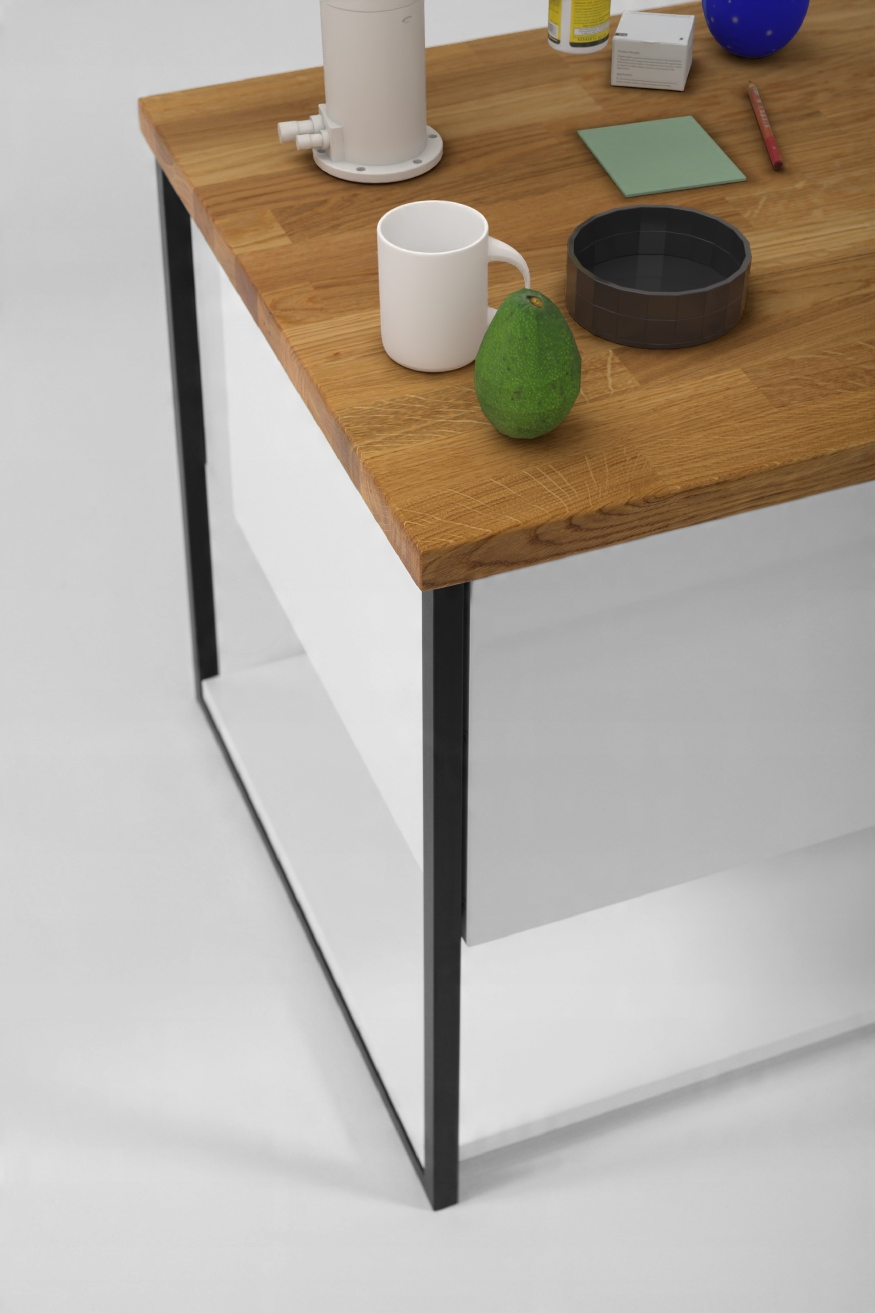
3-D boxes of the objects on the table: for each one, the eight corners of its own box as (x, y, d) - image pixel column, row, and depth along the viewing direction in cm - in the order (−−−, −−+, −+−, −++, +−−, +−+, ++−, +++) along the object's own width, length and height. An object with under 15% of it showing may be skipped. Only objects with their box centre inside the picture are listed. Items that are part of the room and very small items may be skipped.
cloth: (625, 197, 151) (626, 194, 151) (577, 133, 161) (577, 130, 161) (746, 180, 153) (746, 177, 153) (690, 118, 163) (691, 115, 163)
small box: (692, 62, 173) (697, 13, 169) (684, 93, 167) (688, 43, 164) (619, 56, 174) (623, 8, 171) (608, 86, 169) (611, 37, 165)
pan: (599, 361, 131) (603, 306, 127) (542, 270, 141) (544, 217, 138) (772, 333, 133) (780, 279, 130) (703, 246, 144) (709, 194, 141)
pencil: (783, 170, 154) (784, 160, 154) (772, 170, 154) (773, 160, 154) (754, 85, 168) (755, 76, 167) (743, 85, 168) (744, 76, 167)
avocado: (483, 466, 121) (485, 324, 112) (465, 406, 126) (465, 268, 118) (589, 455, 121) (598, 314, 113) (566, 396, 127) (573, 258, 119)
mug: (533, 371, 130) (538, 250, 122) (383, 377, 129) (378, 256, 122) (523, 314, 136) (526, 196, 129) (379, 320, 136) (375, 201, 128)
